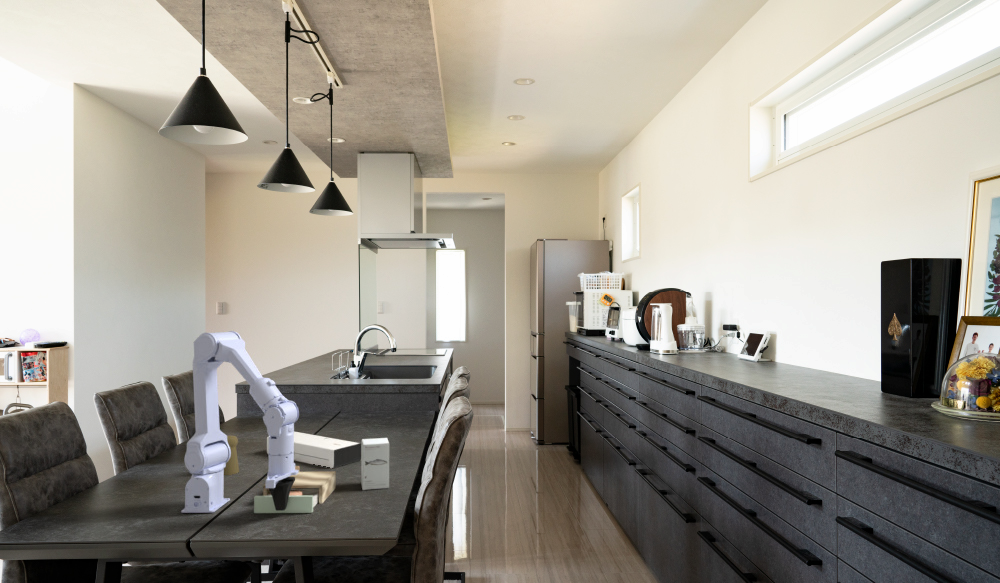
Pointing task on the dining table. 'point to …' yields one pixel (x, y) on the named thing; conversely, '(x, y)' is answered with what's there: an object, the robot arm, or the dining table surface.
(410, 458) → the dining table surface
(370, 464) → the supplement box
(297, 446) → the laminator
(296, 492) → the disc
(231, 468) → the pepper mill
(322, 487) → the block
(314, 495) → the tray
